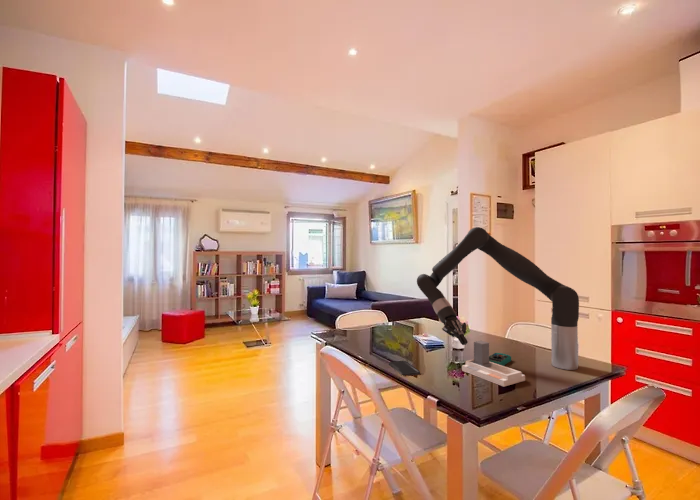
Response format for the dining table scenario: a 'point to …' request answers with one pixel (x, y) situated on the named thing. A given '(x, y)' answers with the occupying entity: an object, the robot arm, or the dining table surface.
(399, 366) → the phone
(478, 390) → the dining table surface
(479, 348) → the slider tab
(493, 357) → the digital multimeter
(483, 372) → the switch housing
